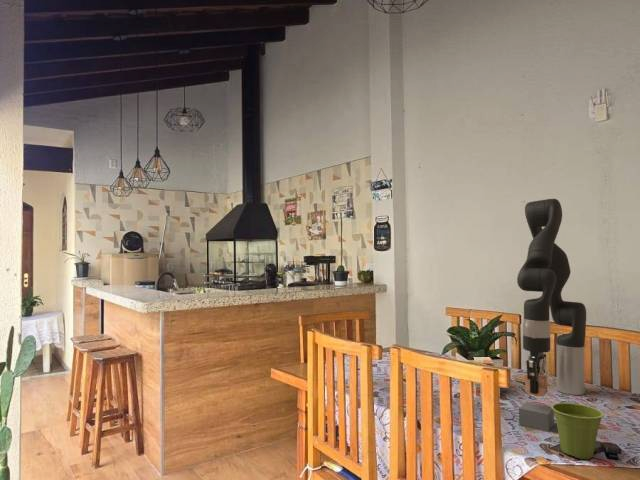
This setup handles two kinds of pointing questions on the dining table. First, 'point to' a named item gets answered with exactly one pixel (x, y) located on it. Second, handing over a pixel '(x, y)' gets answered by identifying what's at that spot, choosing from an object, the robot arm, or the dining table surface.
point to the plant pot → (577, 428)
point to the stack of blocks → (485, 361)
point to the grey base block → (536, 416)
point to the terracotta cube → (541, 385)
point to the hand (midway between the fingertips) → (536, 390)
